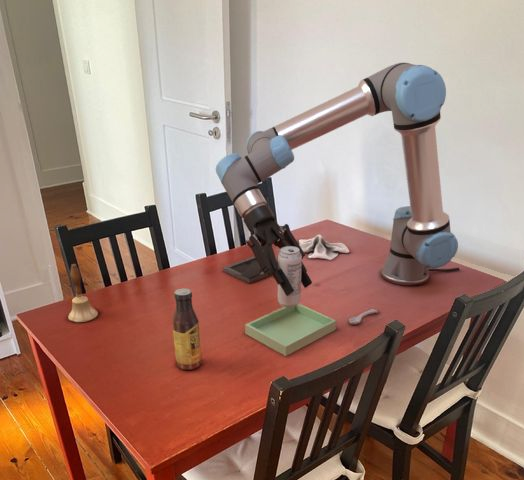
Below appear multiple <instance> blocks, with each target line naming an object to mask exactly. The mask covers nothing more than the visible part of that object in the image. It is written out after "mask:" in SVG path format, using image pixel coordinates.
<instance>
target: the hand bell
mask: <svg viewBox="0 0 524 480" xmlns="http://www.w3.org/2000/svg"><path fill="white" fill-rule="evenodd" d="M70 278H71V281H72V283H73V285H74V290H75V296H74V297H73V298H72V300H71V311H70V312H69V314H68V316H67V318H68V321H71V322H74V323H86V322H90V321H92V320H94V319H96V318H97V317H98V315H99V312H98V311H97V310H96V309H95V308H94V307H93V306H92V305H91V303H90V300H89V298H88V297H87V296H86V295H83V291H82V287H81V282H82V275H81V272H80V270H79V268H78V266H77V264H76V263H71V265H70Z"/></svg>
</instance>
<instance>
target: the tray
mask: <svg viewBox="0 0 524 480" xmlns="http://www.w3.org/2000/svg"><path fill="white" fill-rule="evenodd" d="M244 328H245V329H244V331H245V332H244V333H245V335H247V336H248V337H250V338H252V339H253V340H256V341H257V342H259V343H261V344H263V345H264V346H266V347H268V348H270V349H271V350H274V351H275V352H277V353H279V354H281V355H283V356H284V357H288V356H289V355H291V354H292V353H294V352H297V351H298V350H300V349H302V348H304V347H305V346H308V345H309V344H312V343H313V342H315V341H318V340H319V339H320V338H321V339H322V338H323V337H325V336H327V335H328V334H331V333H332V332H334V331H335V330H336V329H337V320H336V319H334V318H332V317H330V316H328V315H325V314H323V313H320V312H319V311H317V310H314V309H312V308H310V307H307V306H306V305H304V304H302V303H300V302H299V303H298V305H297V306H296V307H292V308H286V307H283V306H282V307H281V308H277V309H276V310H274V311H271V312H269V313H268V314H265V315H263V316H261V317H259V318H256V319H253V320H252V321H250V322H248V323H245V324H244Z"/></svg>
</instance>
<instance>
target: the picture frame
mask: <svg viewBox="0 0 524 480" xmlns="http://www.w3.org/2000/svg"><path fill="white" fill-rule="evenodd" d="M275 259H276V262H277V266H278V258H275ZM222 269H223V273H226V274H228V275H230V276H232V277H234V278H237V279H239V280H241V281H243V282H245V283H247V284H253V283H255V282H258V281H260V280H262V279H265V278H267V277H269V276H270V275H269V274H268V273H267V274H264V273H263V271H262V269H261V267H260V265H259V263H258V261H257V259H256V257H255V255H252V256H251V257H248V258H245V259H242V260H239V261H236V262H234V263H232V264H229V265H225V266H223V267H222Z"/></svg>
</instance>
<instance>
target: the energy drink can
mask: <svg viewBox="0 0 524 480" xmlns="http://www.w3.org/2000/svg"><path fill="white" fill-rule="evenodd" d="M299 251H300V250H299V248H297V247H294V246H286V247H282V248H281V249H279V253H278V255H277V259H278V270H279V269H282V270H283V272H284V274H285V276H286V277H287V279H288V281H289V283H290V284H291V286H292V288H293V289H294V291H293V292H292V293H291V294H290V295H288V296H286V294H285V293H284V291H283V289H282V287H281V286H280V284H279V285H278V284H277V302H278V303H279V305H280V306H281V307H282V308H283V307H286V308H292V307H296V306H297V305H298V303H299V304H300V303H301V299H302V298H301V297H302V282H301V267H302V262H303V259H302V255H301V253H300V252H299Z"/></svg>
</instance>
